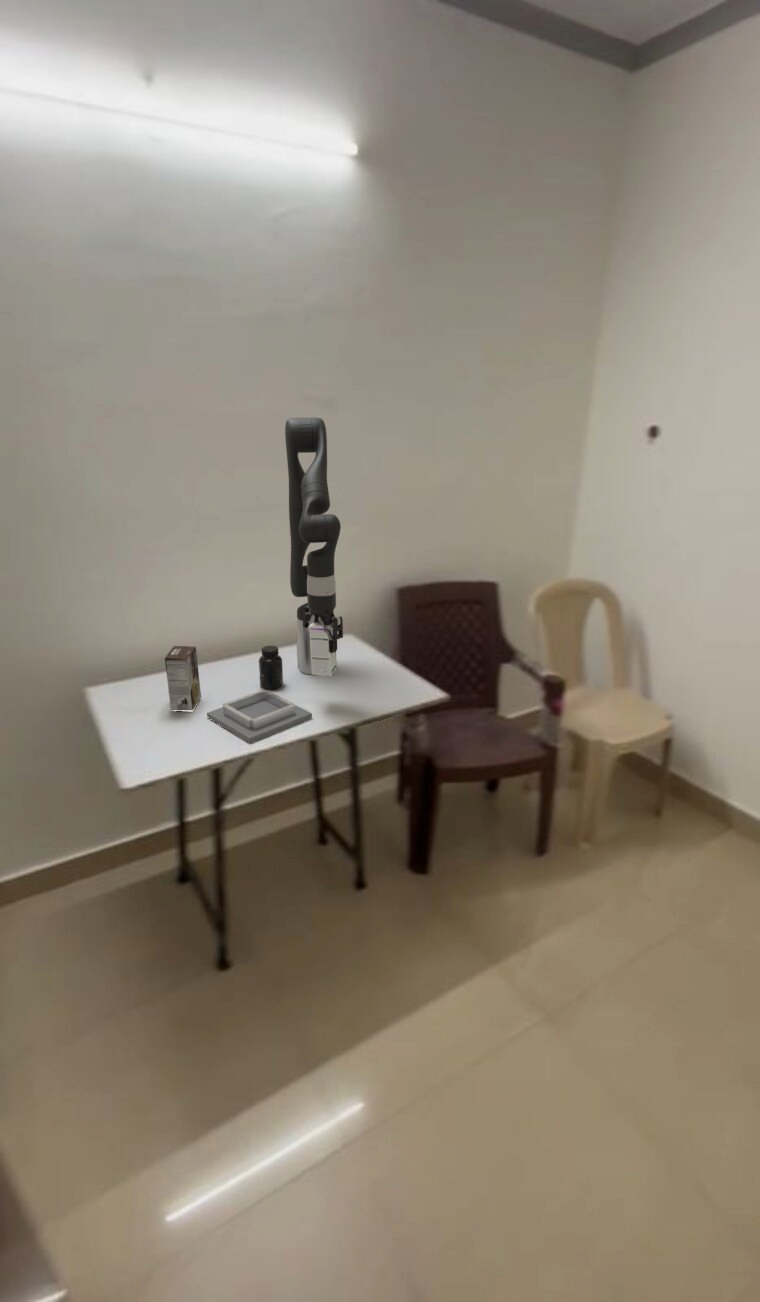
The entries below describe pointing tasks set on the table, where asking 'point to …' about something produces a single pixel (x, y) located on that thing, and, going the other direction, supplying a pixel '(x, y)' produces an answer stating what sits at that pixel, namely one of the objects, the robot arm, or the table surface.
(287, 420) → the robot arm
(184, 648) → the coffee box
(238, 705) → the frame
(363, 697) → the table surface
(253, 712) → the plate
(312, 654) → the syrup box
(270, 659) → the supplement bottle
